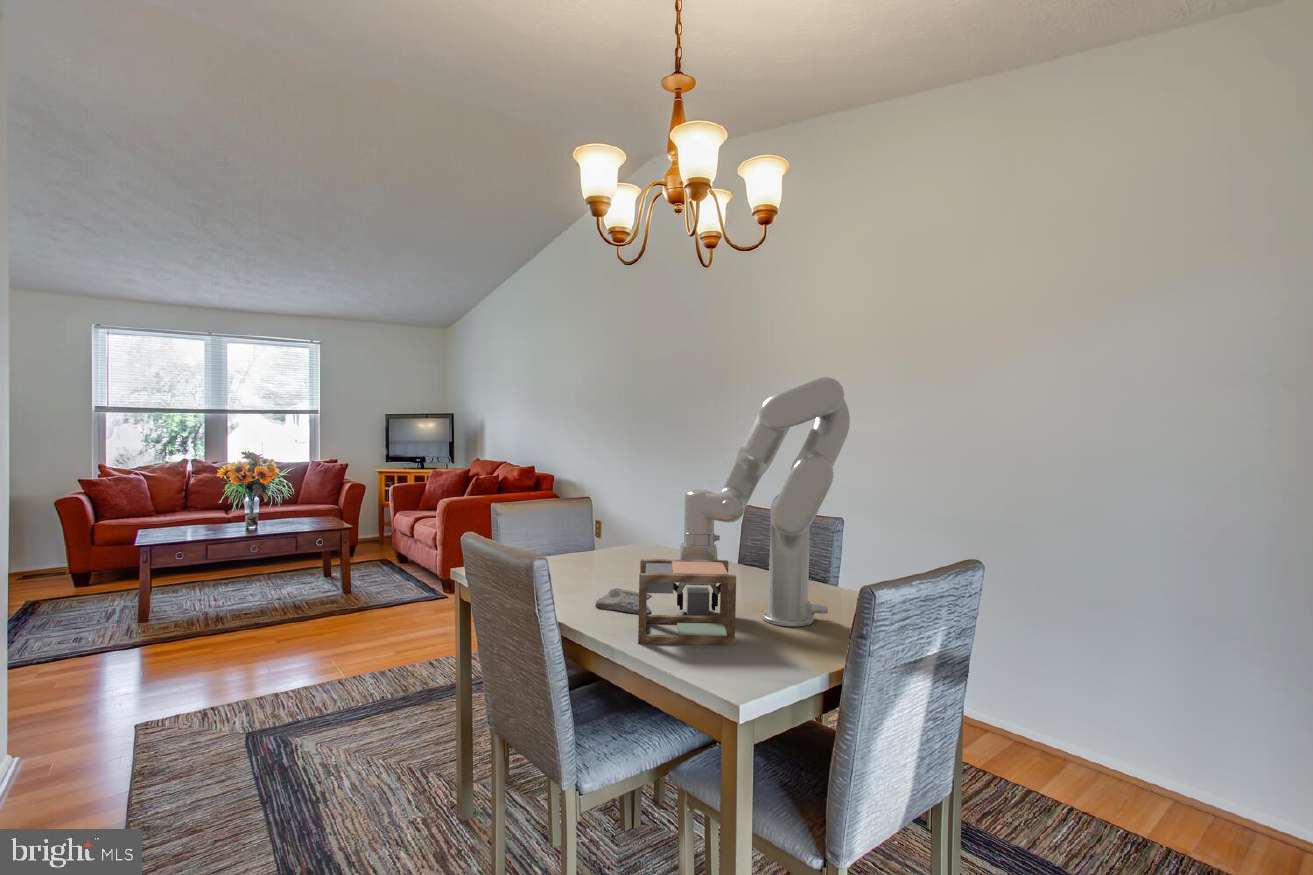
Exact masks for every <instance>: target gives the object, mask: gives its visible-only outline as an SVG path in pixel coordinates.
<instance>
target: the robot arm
mask: <svg viewBox="0 0 1313 875" xmlns="http://www.w3.org/2000/svg"><path fill="white" fill-rule="evenodd" d="M847 404H848V403H847V402H846V400H845V391H844V388H843V385H842V384H841V383H840V382H839V381H838V380H836V379H835V378H833V377H829V376H822V377H819V378H815V379H813V380H811V381H808V382H806V383H803V384H800V385H798V386H795V387H792V388H790V389H787V390H785V391H782V392H779V393H776V394H772V395H770V396H768V397H767V398H766V399H765V400H764V401H763V402H762V404H761V407H760V409H759V411H758V412H757V415H756V417H755V419H754V421H753V423H752V425H751V427H750V429H749V431H748V432H747V435H746V436H745V439H744V440H743V442H742V443H741V446H740V447H739V448H740V449H739V450H738V453H737V457H736V459H735V461H734V462H735V463H734V465H733V467H732V470H730V474H729V475H728V478H727V479H726V482H725V484H724V485H723V487H722V489H721V490H720V492H719V493H716V492H715V493H714V492H713V491H711V490H706V489H692V490H691V489H690V490H688V491H687V492H686V493H685V496H684V523H683V524H684V525H683V542H682V543H680V546H679V552H678V559H677V560H719V558H718V548H717V544H716V543H715V542H717V541H720V539H721V537H720V535H719V534H715V521H717V522H723V523H736V522H738V521H739V520H741V518H742V517H743V516H744V513H745V511H746V510H745V509H746V507H747V505H748V504H749V501H750V499H751V497H752V495H753V494H754V491H755V490H756V487H758V486H757V485H758V484H759V482H760V480H762V477H763V475H764V474H765V473H766V472H767V471H768V469H769V468H770V466H771V465H772V463H773V462H774V459H775V458H776V455H777V453H778V452H779V449H780V447H781V445H782V444H783V442H784V440H785V438H786V436H787V434H788V432H789V430H790V428H791V427H792V428H793V427H795V426H799V425H801V424H804V423H807V422H810V421H813V423H812V425H811V429H810V430H809V433H808V435H807V437H806V439H805V442H804V443H803V445H802V447H801V449H800V451H799V453H798V454H797V456H796V458H794V461H793V462H792V464H791V468H790V473H789V474H788V476H787V478H786V480H785V482H784V485H783V486H782V488H781V490H780V493H779V494H777V495H776V496H775V497H774V498H773V500H772V502H771V503H770V509H769V520H770V522H769V523H770V524H769V525H770V526H769V528H770V529H769V533H770V534H769V562H768V563H769V567H768V569H769V570H768V571H769V573H768V605H767V606H768V607H767V608H766V609H764V610H763V611H762V612H761V618H762V619H763V620H764V621H765V622H767V623H770V624H773V625H777V626H783V627H805V626H809V625H811V624H813V623H814V621H815V616H814V615H815V614H821V615H823V614H824V615H825V614H828V610H829V608H828V606H827V605H820V603H811V602H810V601H809V578H810V577H809V576H810V575H809V571H810V569H809V566H810V537H811V536H810V535H811V534H810V533H811V532H810V527H811V525H812V523H813V522H814V519H815V518H816V516H817V514H818V512H819V510H820V508H821V506H822V505H823V502H824V501H825V498H826V496H827V495H828V492H829V491H830V489H831V486H832V483H833V479H834V468H833V467H834V465H835V463H836V462H837V459H838V457H839V455H840V453H841V450H842V448H843V446H844V444H845V441H846V440H847V437H848V434H849V430H850V426H851V425H850V423H851V417H850V411H849V407H848V405H847ZM717 584H718V585H717ZM687 586H710V588H711V589H712V592H711V606H710V607H711V610H712V611H713V612H716V607H719V596H720V586H721V583H681V582H678V584H677V582H674V584H673V591H674V592H675V593H676V594H677V595H676V596H677V597H676V606H677V607H679V611H683V609H684V592H683V591H684V590H685V587H687Z"/></svg>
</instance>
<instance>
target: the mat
mask: <svg viewBox="0 0 1313 875" xmlns="http://www.w3.org/2000/svg"><path fill="white" fill-rule="evenodd" d="M676 625H677V626H676V627H677V635H714V636H727V629H726V627H725V624H714V623H676Z"/></svg>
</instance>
